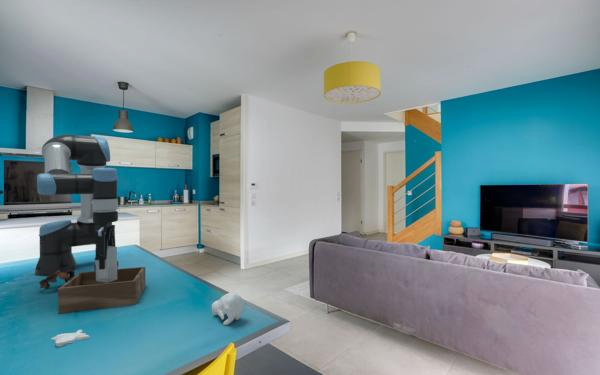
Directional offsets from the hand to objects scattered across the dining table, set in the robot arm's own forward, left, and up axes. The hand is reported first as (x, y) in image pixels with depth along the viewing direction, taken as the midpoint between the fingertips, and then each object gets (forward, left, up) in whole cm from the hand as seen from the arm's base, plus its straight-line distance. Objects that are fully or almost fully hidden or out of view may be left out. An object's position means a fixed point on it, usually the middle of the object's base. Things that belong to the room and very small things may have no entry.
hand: (106, 274), depth 105 cm
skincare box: (0, 0, -2) cm, 2 cm away
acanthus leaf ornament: (+28, -1, -9) cm, 30 cm away
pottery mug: (-18, -21, -9) cm, 29 cm away
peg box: (0, 0, -9) cm, 9 cm away
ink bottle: (-26, -7, -9) cm, 28 cm away
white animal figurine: (+30, +39, -9) cm, 50 cm away
